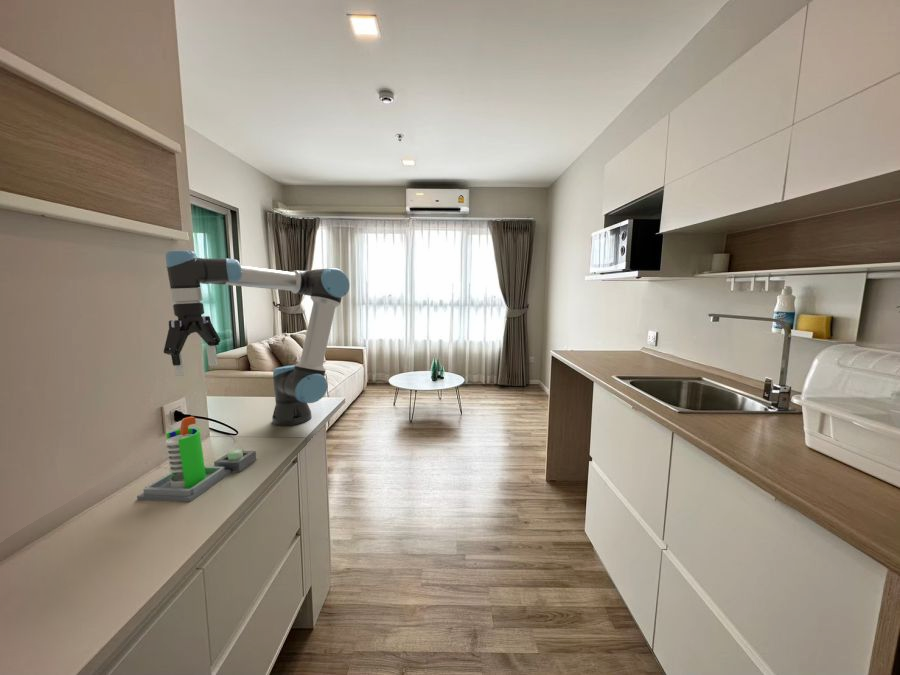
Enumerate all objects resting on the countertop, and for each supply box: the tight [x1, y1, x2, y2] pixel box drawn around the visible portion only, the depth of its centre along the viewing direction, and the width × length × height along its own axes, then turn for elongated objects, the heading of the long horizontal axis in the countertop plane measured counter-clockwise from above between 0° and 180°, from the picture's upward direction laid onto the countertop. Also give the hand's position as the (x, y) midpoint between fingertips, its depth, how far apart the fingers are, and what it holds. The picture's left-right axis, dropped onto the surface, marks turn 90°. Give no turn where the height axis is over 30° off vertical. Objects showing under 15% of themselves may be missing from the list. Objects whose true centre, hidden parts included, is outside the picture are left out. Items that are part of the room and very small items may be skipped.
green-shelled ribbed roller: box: [165, 416, 206, 489], centre depth 100 cm, size 9×8×18 cm
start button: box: [227, 448, 244, 460], centre depth 112 cm, size 4×4×4 cm
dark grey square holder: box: [213, 450, 257, 473], centre depth 112 cm, size 8×8×3 cm
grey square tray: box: [136, 465, 232, 503], centre depth 101 cm, size 15×15×2 cm
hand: (198, 370), depth 114 cm, fingers open, 13 cm apart
